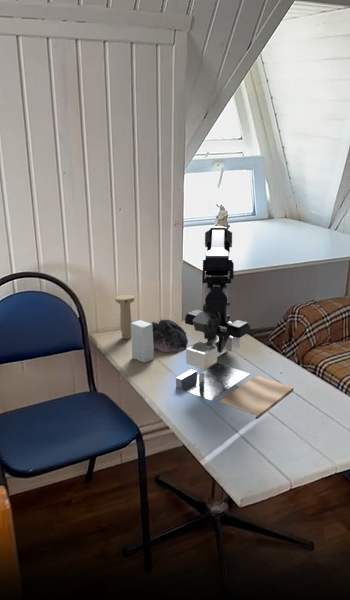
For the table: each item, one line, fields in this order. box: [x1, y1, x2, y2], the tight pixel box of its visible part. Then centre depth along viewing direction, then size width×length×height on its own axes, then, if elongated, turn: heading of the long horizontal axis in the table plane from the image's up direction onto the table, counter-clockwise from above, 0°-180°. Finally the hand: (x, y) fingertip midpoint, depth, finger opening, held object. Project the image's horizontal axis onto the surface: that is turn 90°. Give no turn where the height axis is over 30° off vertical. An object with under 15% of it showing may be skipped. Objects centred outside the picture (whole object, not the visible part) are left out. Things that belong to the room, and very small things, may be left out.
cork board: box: [218, 375, 295, 420], centre depth 151 cm, size 19×12×1 cm, turn 140°
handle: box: [114, 294, 135, 340], centre depth 190 cm, size 5×6×15 cm
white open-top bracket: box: [185, 336, 241, 370], centre depth 155 cm, size 18×6×4 cm, turn 140°
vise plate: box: [175, 362, 251, 402], centre depth 158 cm, size 20×12×6 cm, turn 140°
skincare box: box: [130, 319, 155, 363], centre depth 174 cm, size 6×4×12 cm
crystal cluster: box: [151, 319, 189, 353], centre depth 185 cm, size 13×14×10 cm
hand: (216, 351), depth 157 cm, fingers closed on white open-top bracket, 2 cm apart
